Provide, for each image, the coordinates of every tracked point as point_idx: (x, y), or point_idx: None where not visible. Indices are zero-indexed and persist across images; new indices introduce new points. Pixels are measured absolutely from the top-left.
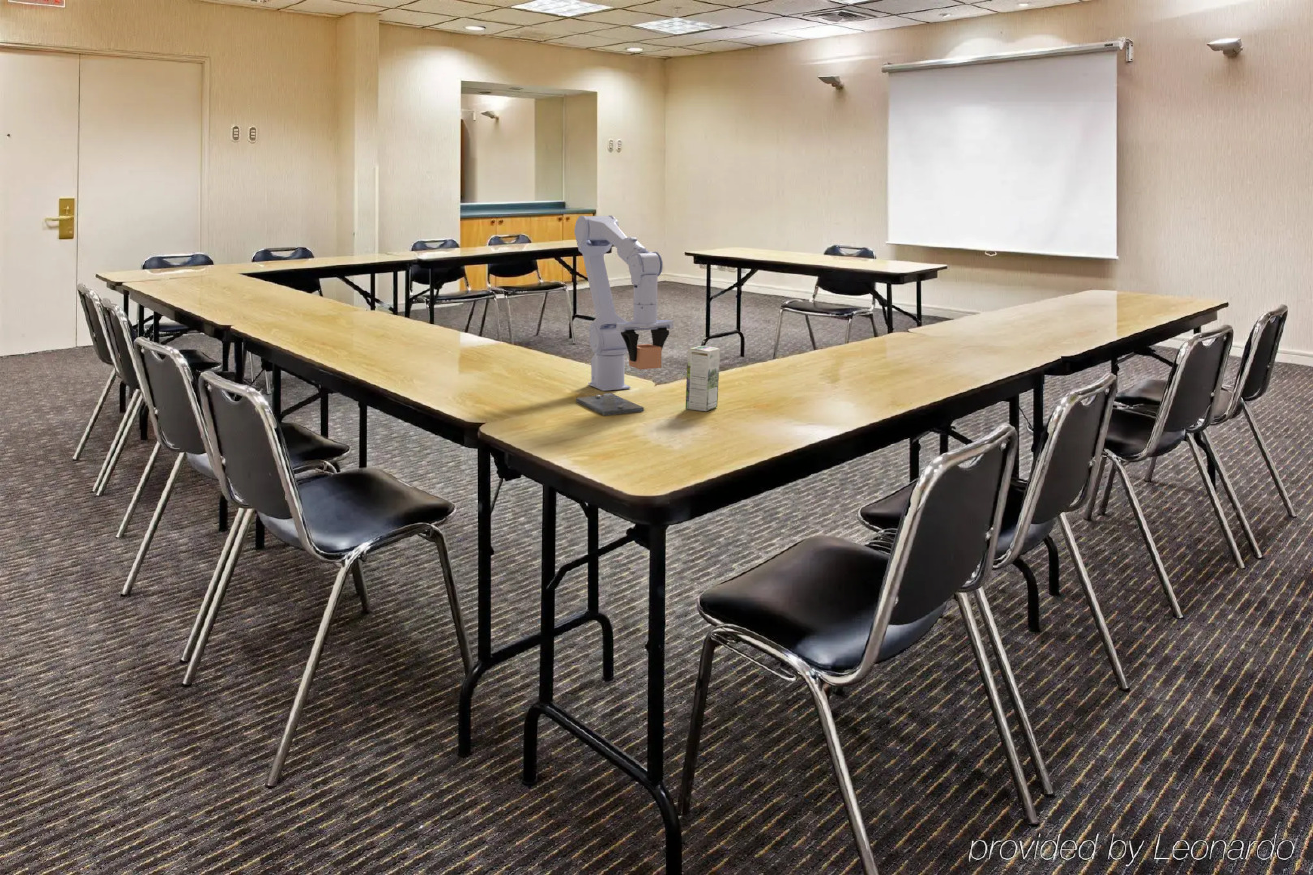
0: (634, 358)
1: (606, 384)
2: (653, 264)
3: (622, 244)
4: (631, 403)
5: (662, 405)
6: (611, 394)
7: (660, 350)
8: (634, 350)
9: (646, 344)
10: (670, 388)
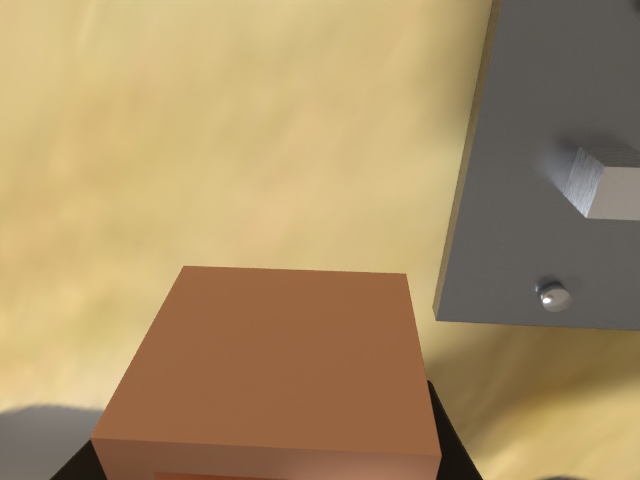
0: (434, 401)
1: None
2: None
3: None
4: (504, 84)
5: (287, 45)
6: (618, 183)
7: (126, 400)
8: (466, 477)
9: None
10: (94, 352)
